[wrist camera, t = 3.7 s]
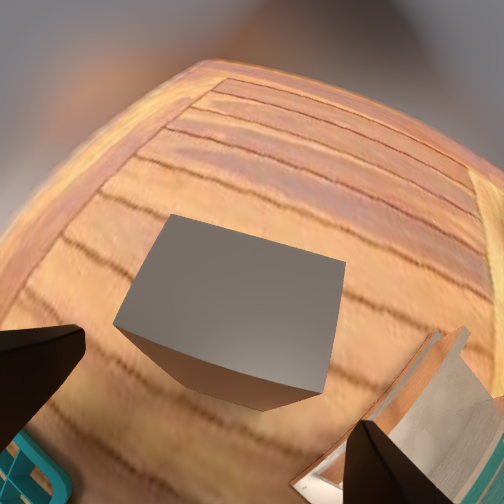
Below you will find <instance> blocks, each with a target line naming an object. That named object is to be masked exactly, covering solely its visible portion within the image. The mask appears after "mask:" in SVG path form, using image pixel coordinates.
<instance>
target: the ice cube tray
mask: <svg viewBox="0 0 504 504" xmlns="http://www.w3.org/2000/svg"><path fill="white" fill-rule="evenodd" d="M13 441H14V442H15V443H16V445H17V446H18V447H19V451H18V453H17V455H16V457H15V459H14V458H13V457H12V456H11V454H10V453H9V452H8V451H7V450H6V448H5V449H4V451H3V452H2V453H1V454H0V470H1V472H2V473H3V474H4V475H5V476H6V477H7V478H6V480H5V481H4V480H3V479H2V478H1V476H0V504H25V503H24V502H23V501H22V500H21V499H20V496H21V494H22V495H23V496H24V497H25V498H26V499H27V500H28V501H29V502H30V503H31V504H66V503H67V501H68V499H69V497H70V495H71V494H72V485H73V484H72V481H71V479H70V477H69V474H68V473H67V472H65V471H64V470H63V469H62V468H61V467H60V466H59V465H58V464H57V463H55V462H54V461H53V460H52V459H51V458H50V457H49V456H48V455H47V454H46V453H45V452H44V451H43V450H42V449H41V448H40V447H39V446H38V445H37V444H36V443H35V442H34V441H33V440H32V439H31V437H30V436H29V435H28V434H27V433H26V432H25V431H24V430H23V429H22V430H21V431H20V432H19V433H18V434H17V435H16V437H15V438H14V439H13ZM35 465H36V466H37V467H38V468H39V469H40V470H41V471H42V472H43V473H44V474H45V475H46V476H47V477H48V478H49V480H50V482H51V485H52V487H53V497H51V496H50V495H49V494H48V493H47V492H46V491H45V490H44V489H43V488H42V487H40V486H39V485H38V484H37V483H36V482H35V481H34V480H33V479H32V478H31V477H30V474H31V472H32V470H33V468H34V466H35Z"/></svg>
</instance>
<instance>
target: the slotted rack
mask: <svg viewBox="0 0 504 504" xmlns="http://www.w3.org/2000/svg"><path fill="white" fill-rule="evenodd" d="M470 334H471V333H470V332H469V331H468V329H467V328H466V327H465V326H464V325H463V326H462V327H460V328H458V329H457V330H455V331H453V332H452V333H450V334H448V335H447V336H445V337H443V336H442V335H441V334H440V332H439V331H438V330H435V331H434V332H432V333H430V334H429V336H428V337H427V339H426V340H425V342H424V343H423V344H422V346H421V347H420V349H419V350H418V351H417V353H416V354H415V356H414V357H413V358H412V360H411V361H410V362H409V364H408V365H407V366H406V367H405V369H404V370H403V371H402V373H401V374H400V375H399V376H398V378H397V379H396V380H395V381H394V382H393V384H392V385H391V386H390V387H389V388H388V390H387V391H386V392H385V393H384V394H383V395H382V397H381V398H380V399H379V400H378V401H377V402H376V403H375V404H374V406H373V407H372V408H371V409H370V410H369V411H368V412H367V413H366V414H365V415H364V416H363V417H362V418H361V419H360V420H362V419H364V420H372V421H374V422H375V423H376V424H377V426H378V427H379V428H380V429H381V430H382V431H383V432H384V433H385V434H386V435H387V436H388V437H389V438H390V439H391V440H392V441H393V442H394V443H395V444H396V446H397V447H398V448H399V449H400V450H401V451H402V452H403V453H404V454H405V455H406V456H407V457H408V458H409V459H410V460H411V461H412V462H413V463H414V464H415V465H416V466H417V467H418V468H419V469H420V470H421V471H422V472H423V473H424V474H425V475H426V476H427V477H428V478H429V479H430V480H431V481H432V482H433V483H434V484H435V485H436V487H437V488H439V489H440V490H441V491H442V492H443V493H444V494H445V495H446V496H447V497H448V498H449V499H450V500H451V501H452V502H453V503H454V504H504V396H501V397H498V398H495V399H493V398H492V397H491V395H490V394H489V393H488V391H487V390H486V389H485V387H484V386H483V385H482V383H481V382H480V381H479V380H478V378H477V377H476V376H475V374H474V373H473V372H472V371H471V369H470V368H469V367H468V366H467V364H466V363H465V362H464V361H463V360H462V358H461V357H460V356H459V354H460V353H461V351H462V349H463V347H464V345H465V343H466V341H467V340H468V338H469V336H470ZM355 426H356V425H355ZM355 426H354V427H355ZM354 427H353V428H352V429H351V430H350V431H349V432H348V433H346V434H345V435H344V436H343V437H342V438H341V439H340V440H339V441H338V442H337V443H336V444H335V445H334V446H333V447H332V448H331V449H329V450H328V451H327V452H326V453H325V454H324V455H323V456H322V457H320V458H319V459H318V460H317V461H316V462H315V463H313V464H312V465H311V466H310V467H308V468H307V469H306V470H305V471H304V472H302V473H301V474H300V475H299V476H297V477H296V478H295V479H293V480H292V481H291V482H289V483H290V484H291V485H292V486H293V487H294V488H295V489H296V490H297V491H298V492H299V493H300V494H301V495H302V496H304V497H305V498H306V499H307V500H308V501H309V502H310V503H311V504H343V473H344V463H345V452H346V442H347V438H348V436H349V435H350V433H351V432H352V430H353V429H354Z"/></svg>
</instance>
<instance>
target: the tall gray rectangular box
mask: <svg viewBox="0 0 504 504" xmlns="http://www.w3.org/2000/svg"><path fill="white" fill-rule="evenodd" d="M345 265H346V262H343V261H340V260H336V259H333V258H329V257H326V256H323V255H319V254H316V253H312V252H309V251H305V250H302V249H298V248H295V247H291V246H287V245H284V244H280V243H277V242H273V241H270V240H266V239H263V238H259V237H255V236H252V235H248V234H244V233H241V232H237V231H234V230H230V229H226V228H223V227H219V226H215V225H212V224H208V223H204V222H200V221H197V220H193V219H189V218H185V217H182V216H178V215H174V214H171V215H170V217H169V218H168V220H167V222H166V223H165V225H164V227H163V229H162V230H161V232H160V234H159V235H158V237H157V239H156V241H155V243H154V244H153V246H152V248H151V250H150V251H149V253H148V255H147V257H146V259H145V261H144V262H143V264H142V266H141V268H140V270H139V272H138V274H137V276H136V278H135V279H134V281H133V283H132V285H131V287H130V289H129V291H128V293H127V295H126V297H125V299H124V301H123V303H122V305H121V307H120V309H119V311H118V313H117V315H116V318H115V320H114V322H113V325H114V326H115V327H116V328H117V329H118V330H119V331H120V332H121V333H122V334H123V335H124V336H125V337H127V338H128V339H129V340H130V341H131V342H132V343H133V344H134V345H135V346H136V347H138V348H139V349H140V350H141V351H142V352H143V353H144V354H145V355H147V356H148V357H149V358H150V359H151V360H152V361H154V362H155V363H156V364H157V365H158V366H160V367H161V368H162V369H163V370H164V371H166V372H167V373H168V374H169V375H171V376H172V377H173V378H174V379H176V380H177V381H178V382H179V383H181V384H182V385H183V386H185V387H187V388H190V389H192V390H195V391H198V392H201V393H204V394H207V395H210V396H213V397H216V398H219V399H222V400H225V401H228V402H231V403H235V404H238V405H242V406H245V407H249V408H252V409H256V410H260V411H267V410H271V409H274V408H278V407H281V406H285V405H288V404H291V403H295V402H298V401H301V400H304V399H307V398H310V397H313V396H316V395H319V394H322V393H323V390H324V386H325V381H326V377H327V372H328V367H329V363H330V358H331V353H332V348H333V342H334V337H335V331H336V326H337V320H338V314H339V308H340V301H341V294H342V288H343V280H344V273H345Z"/></svg>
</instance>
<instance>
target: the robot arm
mask: <svg viewBox="0 0 504 504" xmlns="http://www.w3.org/2000/svg"><path fill="white" fill-rule="evenodd" d="M85 351H86V343H85V331H84V329H83V328H81V327H79V326H77V325H75V324H71V325H62V326H52V327H42V328H31V329H19V330H7V331H0V454H1V453H2V452H3V451H4V449H5V448H6V447H7V446H8V445H9V444H10V442H11V441H12V440H13V439H14V438H15V437H16V435H17V434H18V433H19V432H20V431H21V430H22V428H23V427H24V426H25V425H26V424H27V423H28V422H29V421H30V419H31V418H32V417H33V416H34V415H35V414H36V413H37V412H38V411H39V409H40V408H41V407H42V406H43V405H44V404H45V403H46V402H47V401H48V400H49V398H50V397H51V396H52V395H53V394H54V393H55V392H56V391H57V390H58V389H59V388H60V386H61V385H62V384H63V383H64V381H65V380H66V379H67V377H68V376H69V375H70V373H71V372H72V371H73V369H74V368H75V367H76V365H77V364H78V363H79V361H80V360H81V359H82V357H83V356H84V354H85ZM343 504H454V503H453V502H452V501H451V500H450V499H449V498H448V497H447V496H446V495H445V494H444V493H443V492H442V491H441V490H440V489H439V488H437V487H436V485H435V484H434V483H433V482H432V481H431V480H430V479H429V478H428V477H427V476H426V475H425V474H424V473H423V472H422V471H421V470H420V469H419V468H418V467H417V466H416V465H415V464H414V463H413V462H412V461H411V460H410V459H409V458H408V457H407V456H406V455H405V454H404V453H403V452H402V451H401V450H400V449H399V448H398V447H397V446H396V444H395V443H394V442H393V441H392V440H391V439H390V438H389V437H388V436H387V435H386V434H385V433H384V432H383V431H382V430H381V429H380V428H379V427H378V426H377V424H376V423H375V422H374V421H372V420H364V419H362V420H359V421H358V423H357V424H356V426H355V427H354V429H353V430H352V432H351V433H350V435H349V436H348V438H347V442H346V452H345V463H344V473H343Z"/></svg>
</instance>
